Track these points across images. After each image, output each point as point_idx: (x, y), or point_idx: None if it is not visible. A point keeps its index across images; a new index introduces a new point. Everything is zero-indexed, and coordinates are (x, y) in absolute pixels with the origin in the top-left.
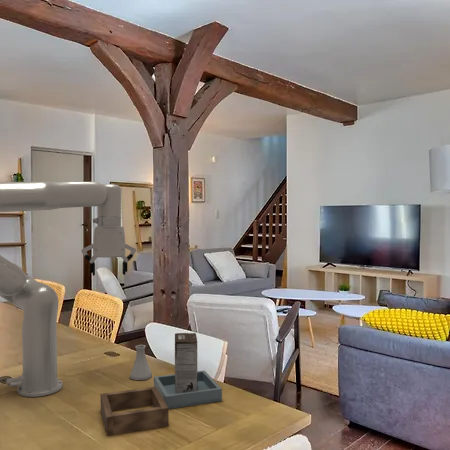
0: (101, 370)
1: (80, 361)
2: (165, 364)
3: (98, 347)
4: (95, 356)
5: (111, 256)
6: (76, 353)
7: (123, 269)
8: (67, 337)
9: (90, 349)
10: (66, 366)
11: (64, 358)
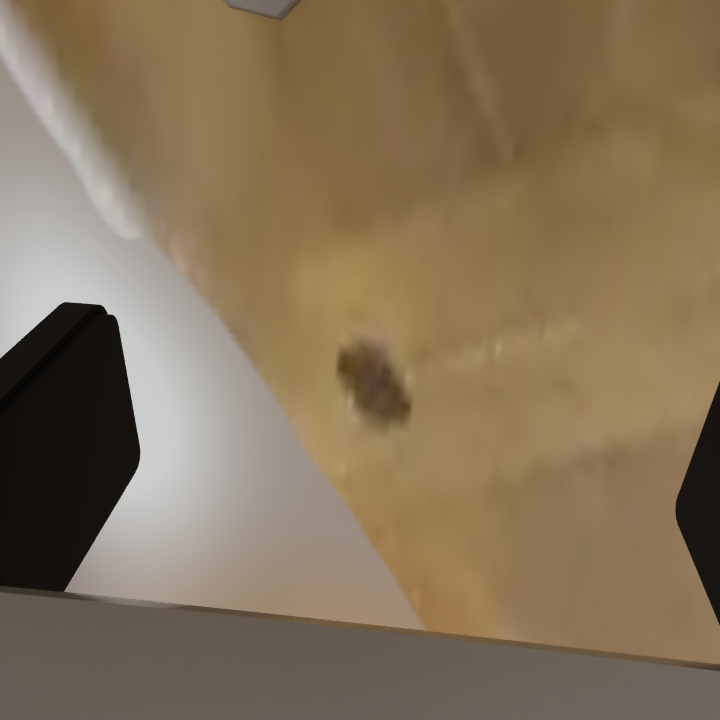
0: (463, 145)
1: (544, 328)
2: (111, 122)
3: (426, 493)
4: (459, 375)
5: (281, 622)
6: (540, 447)
7: (55, 364)
8: None
9: (467, 479)
10: (627, 276)
11: (610, 398)
